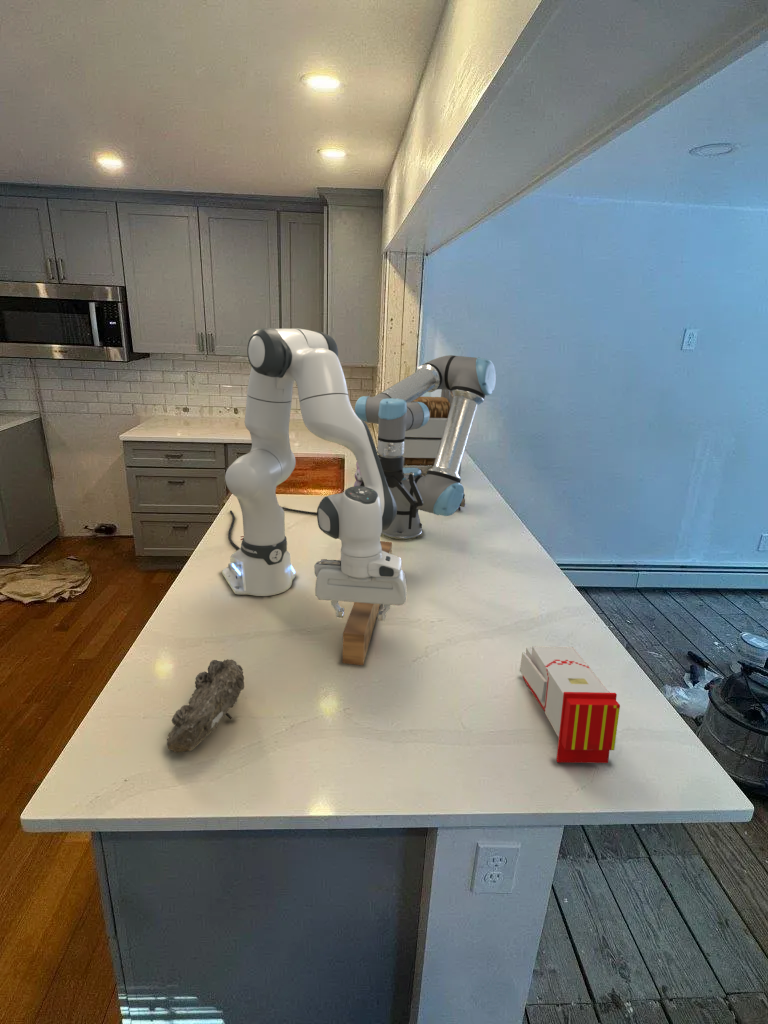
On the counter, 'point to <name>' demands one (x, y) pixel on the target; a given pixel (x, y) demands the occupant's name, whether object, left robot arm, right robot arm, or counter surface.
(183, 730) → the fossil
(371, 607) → the beam
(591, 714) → the toy
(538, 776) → the counter surface
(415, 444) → the transformer
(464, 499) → the figurine character
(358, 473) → the figurine
